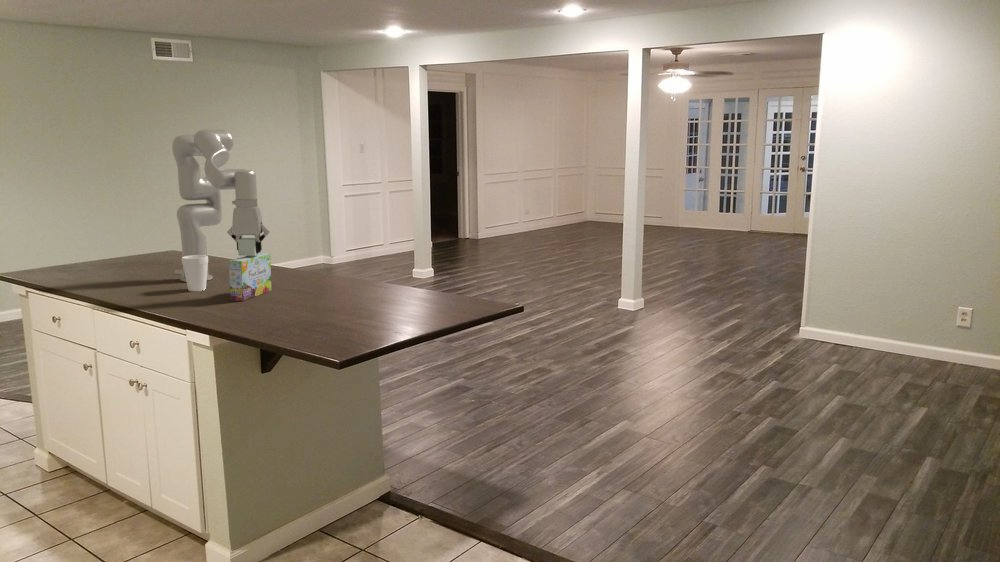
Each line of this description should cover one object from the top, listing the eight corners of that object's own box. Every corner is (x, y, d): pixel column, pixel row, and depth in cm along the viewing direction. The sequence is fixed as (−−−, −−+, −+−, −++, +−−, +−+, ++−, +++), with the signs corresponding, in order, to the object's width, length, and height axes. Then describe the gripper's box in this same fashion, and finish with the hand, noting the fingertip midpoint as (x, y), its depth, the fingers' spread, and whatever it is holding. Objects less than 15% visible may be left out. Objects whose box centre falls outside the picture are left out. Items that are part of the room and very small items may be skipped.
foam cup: (178, 290, 289) (176, 257, 286) (198, 286, 297) (196, 254, 294) (195, 293, 284) (193, 259, 282) (215, 288, 293) (213, 256, 290)
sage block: (238, 255, 275) (237, 239, 274) (244, 253, 281) (243, 237, 279) (254, 255, 275) (253, 239, 273) (260, 253, 280) (259, 237, 279)
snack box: (243, 301, 270) (241, 260, 267) (229, 301, 271) (227, 260, 268) (272, 290, 290) (270, 252, 287) (259, 290, 291) (257, 251, 289)
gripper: (219, 204, 271) (222, 253, 274) (266, 205, 270) (269, 254, 274) (227, 203, 278) (230, 250, 281) (273, 203, 278) (275, 251, 281)
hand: (249, 251), depth 277 cm, fingers closed on sage block, 6 cm apart
